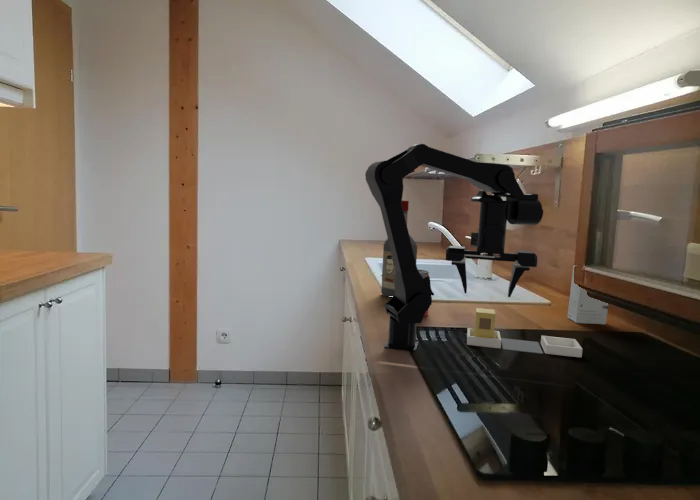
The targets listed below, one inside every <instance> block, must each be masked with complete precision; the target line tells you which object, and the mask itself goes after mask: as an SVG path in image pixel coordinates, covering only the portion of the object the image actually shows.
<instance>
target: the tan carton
mask: <svg viewBox="0 0 700 500" xmlns="http://www.w3.org/2000/svg"><path fill="white" fill-rule="evenodd" d="M474 317H475V319H474V337H483V338H493V339H494V331H495V326H496V325H495V324H496V311H495V309H491V308H490V309H489V308H481V307H476V308H475V316H474Z"/></svg>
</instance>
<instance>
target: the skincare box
mask: <svg viewBox="0 0 700 500" xmlns="http://www.w3.org/2000/svg"><path fill="white" fill-rule="evenodd" d="M575 266H576V265H573V267H572V275H571V283H570V290H569V291H570V293H569V302H568V307H567V308H568V309H567V319H569V320H571V321H572V322H574V323H575V324H585V325H586V324H588V325H606V324H607V318H608V310H609V304H608V303H605V302H602V301H600V300H597V299H594V298H591V297H589V296H588V295H587V291H586V290H585V289H583V288H581V287H579V286H578V285H577V284H575V283H574V267H575Z"/></svg>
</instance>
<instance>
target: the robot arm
mask: <svg viewBox="0 0 700 500" xmlns="http://www.w3.org/2000/svg"><path fill="white" fill-rule="evenodd" d="M420 166H421V167H424V168H427V169H431V170H434V171H437V172H440V173H443V174H447V175H450V176H453V177H457V178H460V179H462V180H463V179H464V180H466V181H467V182H468V183H470V184H471V185H473V186H474V187H476V188H478V189H479V191H478V192H477V194H476V195H474V196H473V197H472V198H471V199H470V201H471V202H474V203H480V206H479V218H478V220H479V221H478V232H475V231H472V232H471V233H470V242H469V243H470V245H469V246H470V247H469V248H476V250H472V249H471V250H470V249H469V250H468V249H466V246H463V245H462V246H460V245H449V246H448V247H447V248H446V249H445V250H446V251H445V261H449V262H451V265H452V266H456V269H457V272H458V274H459V276H460V281H461V284H462V289H463V292H464V294H467V290H468V289H467V288H468V282H467V281H468V280H467V266H466V264H467V263H466V259H469V260H470V259H471V260H481V261H482V260H485V261H499V262H512V267H511V268H512V270H511V274H510V279H509V285H508V291H507V298H511V296H512V294H513V292H514V290H515V288H516V286H517V284H518V282H519V280H520V279H521V277H522V276H523V274H524V273H525V272H526V271H530V269H531V268H537V267H538V266H537V265H538V255H537V254H536V253H535V252H534V251H533V250H521V249H520V250H519V249H516V250H515V253H513V252H505V247H506V235H507V224H510V225H521V226H522V225H524V226H531V225H532V226H536V225H538V224H540V223H541V221H542V219H543V216H544V215H543V214H544V209H543V205H542V202H541V201H540V200H539V194H538V193H526V194H524V192H523V190H522V188H521V186H520V185H519V183H518V181H517V179H516V174H515V172H514V168H512V166H510V165H508V164H502V163H495V162H480V161H475V160H471V159H469V158H464V157H462V156H460V155H459V156H458V155H455V154H453V153H450V152H447V151H443V150H440V149H436V148H433V147H430V146H428V145H426V144H425V143H418V144H413V145H410V147H408V148H407V149H405V150H404V151H402V152H400V153H398V154H396V155H394V156H392V157H390V158H388V159H387V160H381V161H374V162H373V163H371V164H370V165H369V166H368V168H367V169H366V171H365V175H364V176H365V181H366V183H367V185H368V188H369V191H370V193H371V195H372V197H373V198H374V200H375V202H376V203H377V204H378V206H379V209H380V212H381V216H382V220H383V225H384V228H385V229H384V230H385V232H386V237H387V239H388V241H389V245H390V249H391V253H392V257H393V261H394V265H395V269H396V276H395V283H394V285H395V295H394V296H393V297H392V298H389V300H388V301H386V303H385V304H384V309H385V313H386V314H388V315H389V319H388V321H389V322H388V323H389V324H388V325H389V326H388V339H387V341H386V343H385V344H384V349H388V350H389V349H390V350H399V351H405V352H416V350H417V348H418V345H419V341H418V340H416V339H417V337H416V336H417V324H421V323H422V321H423V319H424V317H425V316H424V314H425V312H426V311H427V310H428V311H429V309H430V308H431V307H430V306H432V303H433V298H432V297H433V296H435V293H434V292H433V290H432V288H431V287H432V286H431V278H429V277H430V275H429V276H427V275H424V274H422V273H420V272H419V271H418V270H419V269H418V267H417V261H416V262H415V257H414V253H413V249H412V245H411V241H410V236H411V235H410V233H409V229H408V223H407V224H406V220H405V216H404V211H403V207H402V201H403V195H404V177H406V176H408V175H410V174H412V172H414V171H415V170H417V169H418V168H419V167H420ZM488 193H491V194H488ZM503 198H505V200H503ZM507 222H508V223H507ZM409 235H410V236H409ZM482 254H483V255H482Z"/></svg>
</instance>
